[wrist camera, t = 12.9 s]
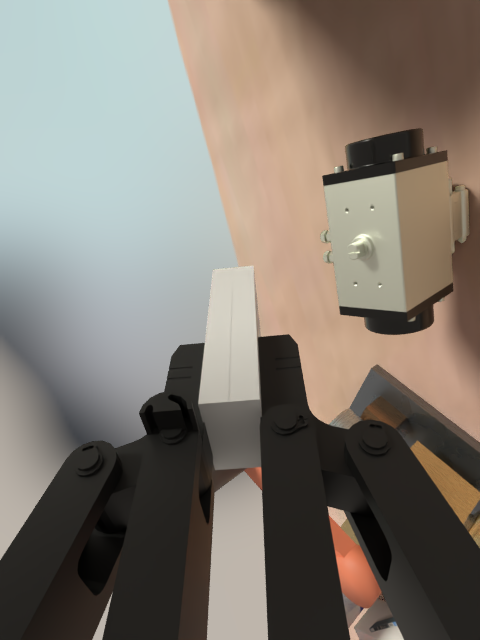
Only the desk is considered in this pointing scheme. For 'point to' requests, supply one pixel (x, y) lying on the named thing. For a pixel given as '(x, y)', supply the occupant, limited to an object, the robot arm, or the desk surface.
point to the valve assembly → (423, 442)
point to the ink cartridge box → (378, 623)
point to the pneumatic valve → (393, 231)
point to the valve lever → (349, 555)
